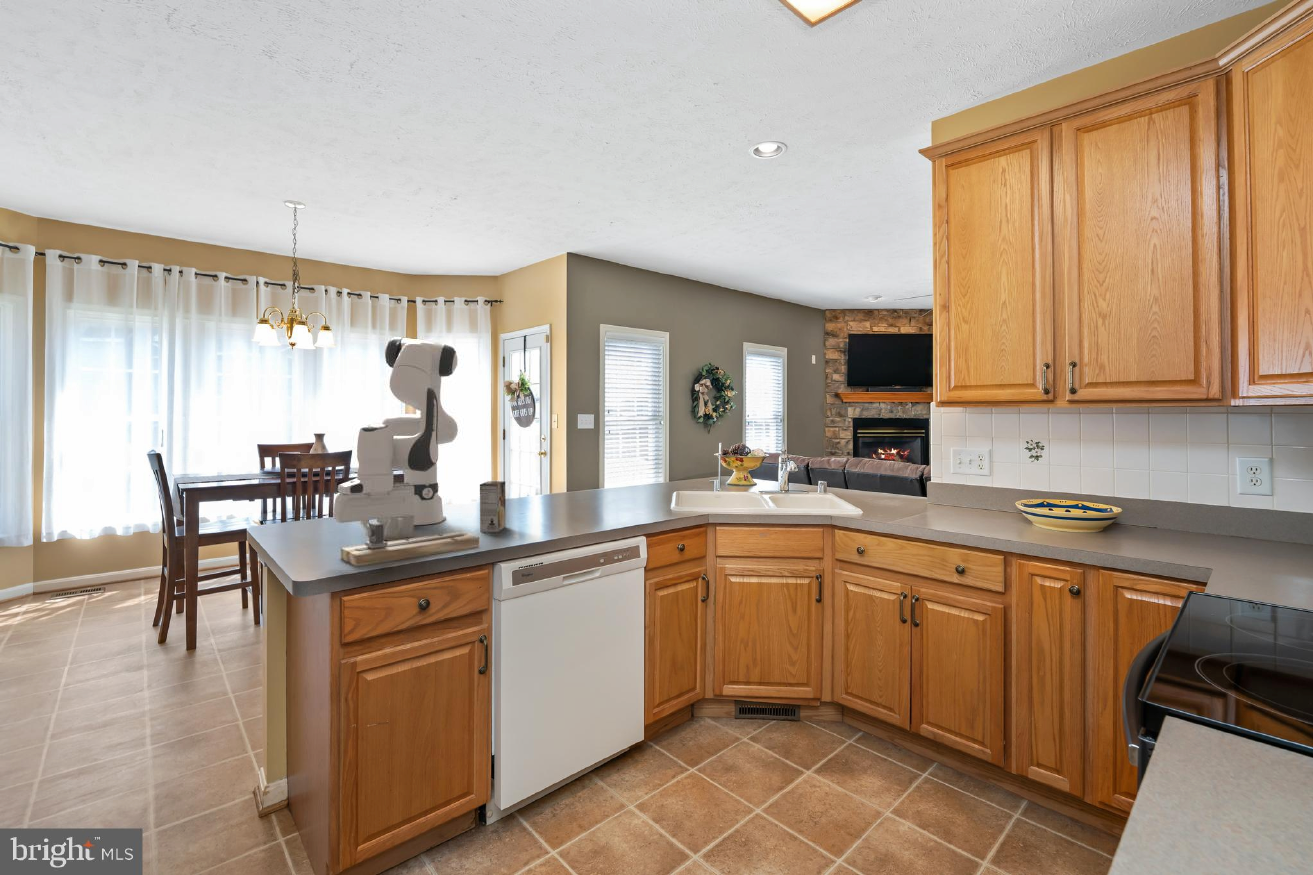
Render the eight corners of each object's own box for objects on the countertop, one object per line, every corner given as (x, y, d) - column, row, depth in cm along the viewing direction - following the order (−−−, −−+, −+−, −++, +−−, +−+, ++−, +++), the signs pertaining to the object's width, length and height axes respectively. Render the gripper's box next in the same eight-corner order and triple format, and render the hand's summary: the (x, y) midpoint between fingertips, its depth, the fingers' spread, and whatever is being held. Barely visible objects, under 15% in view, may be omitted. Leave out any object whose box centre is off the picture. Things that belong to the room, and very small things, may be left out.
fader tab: (365, 545, 163) (365, 523, 163) (380, 543, 166) (380, 521, 166) (371, 548, 160) (371, 525, 160) (387, 546, 162) (387, 524, 162)
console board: (341, 558, 162) (341, 546, 162) (459, 540, 186) (459, 530, 186) (356, 566, 154) (356, 554, 154) (479, 546, 178) (479, 536, 178)
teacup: (377, 537, 191) (377, 512, 190) (414, 535, 195) (414, 510, 195) (375, 546, 178) (375, 519, 178) (415, 543, 182) (415, 517, 182)
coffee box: (487, 526, 210) (487, 480, 209) (506, 527, 210) (506, 481, 209) (479, 531, 201) (479, 483, 200) (498, 532, 201) (498, 484, 200)
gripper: (409, 480, 172) (409, 529, 172) (331, 486, 158) (331, 538, 158) (418, 482, 167) (419, 532, 168) (339, 488, 153) (339, 542, 153)
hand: (376, 535), depth 163 cm, fingers closed on fader tab, 2 cm apart
